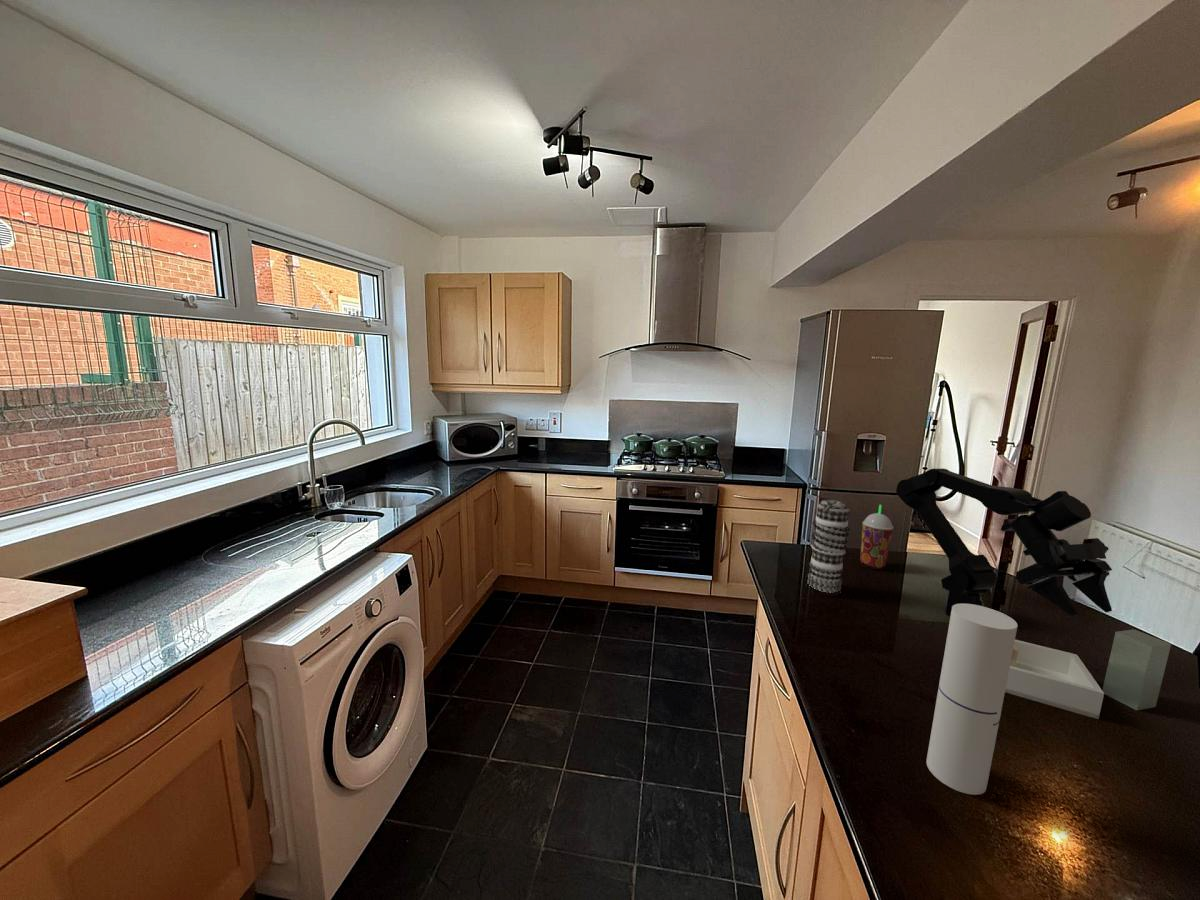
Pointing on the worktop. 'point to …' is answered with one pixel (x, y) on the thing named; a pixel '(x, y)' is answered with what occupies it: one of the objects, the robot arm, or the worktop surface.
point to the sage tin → (1136, 669)
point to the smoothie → (876, 539)
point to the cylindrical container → (970, 696)
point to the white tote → (1054, 680)
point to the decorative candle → (828, 546)
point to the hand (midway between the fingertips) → (1092, 613)
